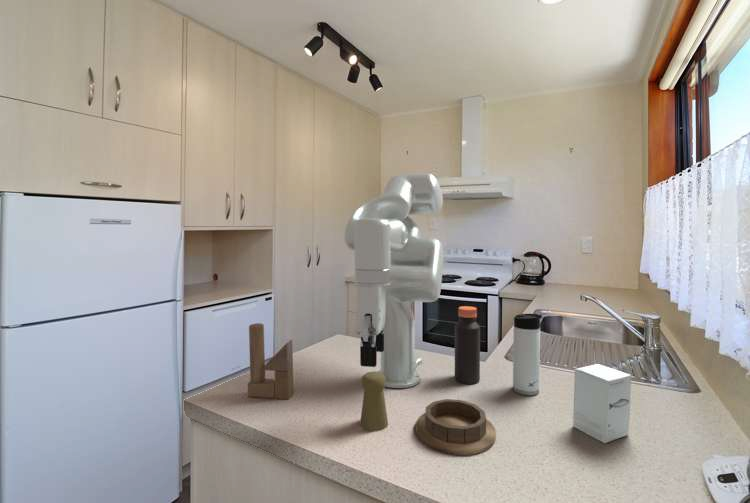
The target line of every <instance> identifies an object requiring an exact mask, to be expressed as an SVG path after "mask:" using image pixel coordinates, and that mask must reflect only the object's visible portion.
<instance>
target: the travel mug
mask: <svg viewBox="0 0 750 503" xmlns="http://www.w3.org/2000/svg"><path fill="white" fill-rule="evenodd" d="M542 318H543V315H542V314H537V313H520V314H516V315H515V316H513V322H514V323H513V339H512V340H513V343H512V344H513V345H512V347H513V350H512V352H513V354H512V391H514V392H516V393H517V394H519V395H523V396H531V397H532V396H535V395H538V394H539V393H540V360H541V357H540V356H541V354H540V353H541V352H540V351H541V320H542Z"/></svg>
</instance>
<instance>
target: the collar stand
mask: <svg viewBox="0 0 750 503" xmlns="http://www.w3.org/2000/svg"><path fill="white" fill-rule="evenodd" d="M415 433H416V435H417V438H418V439H419V440H420V442H422V443H423V444H424V445H425V446H427V447H429V448H430V449H433V450H435V451H438V452H439V453H444V454H448V455H454V456H473V455H477V454H481V453H485V452H486V451H489V450H491V448H492V447H493V446H494V444H496V443H495V442H496V441H497V440H496V439H497V431H496V428H495V426H494V425H493V423H491V421H489V420H488V419H487V416H486V412H485V410H483V409H482V408H481V407H479V406H478V405H477V404H475V403H472V402H469V401H465V400H461V399H450V398H449V399H448V398H447V399H439V400H434V401H432V402H431V403H430V404H428V405H426V407H425V412H424V413H422V414H421V415H420V416H419V417H418V419H417V420H416V422H415Z"/></svg>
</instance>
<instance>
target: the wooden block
mask: <svg viewBox="0 0 750 503" xmlns="http://www.w3.org/2000/svg"><path fill="white" fill-rule="evenodd" d="M264 326H265V325H264V324H263V323H252V324H250V325H248V334H249V335H248V339H249V341H248V342H249V370H250V372H249V373H250V374H249V375H250V378H249V379H250V381H249V382H247V397H248V398H260V399H261V398H262V399H276V400H289V399H290V398H291V397H292V396H293V394H294V371H293V370H294V369H293V364H294V363H293V362H294V360H293V359H294V358H293V356H294V355H293V339H290V340H289V341H288V342H286V343H285V344H284V345H283V347H281V348H280V349H279V351H278V352H276V354H274V356H272V357H271V359H269V360H268V362H266V360H265V358H266V357H265V355H266V354H265V327H264ZM266 371H274V378H266Z"/></svg>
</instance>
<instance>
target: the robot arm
mask: <svg viewBox="0 0 750 503" xmlns="http://www.w3.org/2000/svg"><path fill="white" fill-rule="evenodd" d="M443 203H444V198H443V192H442V189H441V186H440V182H439V181H438V179H437V178H436V177H435V175H434V174H432V173H429V172H416V173H415V172H411V173H399V174H395V175H394V176H391V178H390V179H389V180H388V181H387V183H386V186H385V187H384V189H383V191H382V194H380V196H378V197H376V198H373V199H371V200H369V201H368V202H366V203H363V204H361V205H360V206H359V207H357V208H356V209H354V211H353V212H352V214H351V216H350V217H349V219H348V221H347V222H346V224H345V225H346V226H345V229H344V234H343V235H344V242H345V244H346V247H347V248H348V249H350V250H351V251H353V252H354V286H357V294H356V310H355V334H356V335H360V334H361V336H360V346H359V347H360V349H359V350H360V352H359V353H360V354H359V357H360V358H359V359H360V360H359V361H360V364H359V365H360V366H361V367H368V368H371V367H372V368H375V367H377V364H378V362H377V360H378V359H377V358H378V357H377V355H378V354H377V353H378V352H379V359H380V360H379V361H380V363H379V368H380V369H379V370H378V371H377V372H380V373H382V374H383V375H384V376H385V379H386V385H385V388H390V389H407V388H411V387H414V386H416V385H418V384H419V383H420V382H421V374H420V373H419V372H418V371H417V370H416V368H417V367H418V366H420V365H422V363H423V359H422V358H421V357H417V358H416V357H415V356H416V355H415V350H416V347H415V346H416V345H415V343H416V342H415V340H416V339H415V324H416V323H415V315H414V312H413V311H412V309H411V308H410V306H409V304H407V302H416V303H417V302H418V303H419V302H421V303H432V302H436V301H438V299H439V297H440V294H441V290H442V283H443V282H442V281H443V272H444V271H443V269H444V247H443V244H442V242H441V241H440V240H438V239H437V238H434V237H421V233H422V232H421V229H420V227H419V226H418V224H417V223H416V222H415V221H414V220H413V219H412V218H410V217H409V216H417V215H418V216H422V215H427V216H428V215H430V216H431V215H436V214H439V213H440V212H441V211H442V208H443Z"/></svg>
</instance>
